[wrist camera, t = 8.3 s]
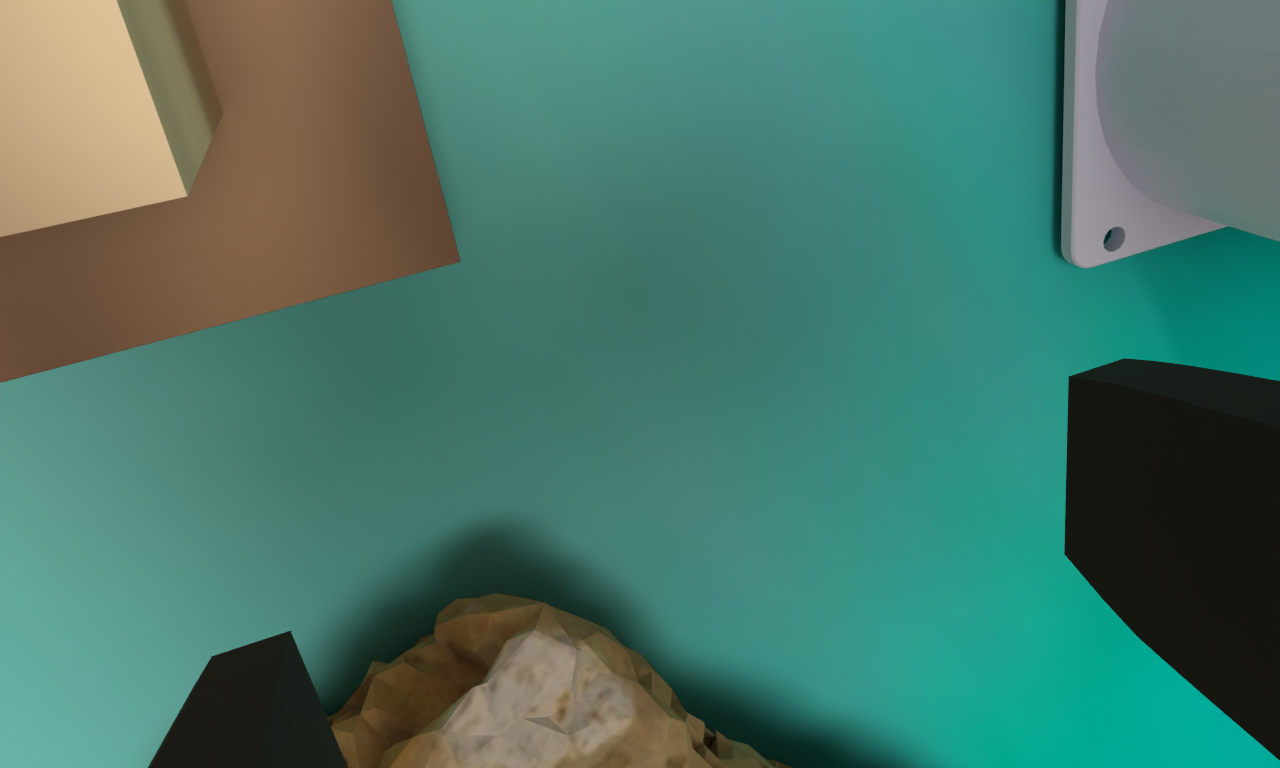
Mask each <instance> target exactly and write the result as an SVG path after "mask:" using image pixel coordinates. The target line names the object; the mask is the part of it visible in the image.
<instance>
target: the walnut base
mask: <svg viewBox="0 0 1280 768" xmlns="http://www.w3.org/2000/svg"><path fill="white" fill-rule="evenodd" d="M185 1H186V4H187V7H188V10H189V13H190V16H191V19H192V22H193V25H194V28H195V31H196V34H197V37H198V40H199V43H200V46H201V49H202V52H203V55H204V58H205V61H206V64H207V67H208V70H209V73H210V76H211V79H212V82H213V85H214V88H215V91H216V94H217V97H218V100H219V103H220V106H221V109H222V112H223V114H222V117H221V119H220V121H219V124H218V126H217V128H216V131H215V133H214V135H213V138H212V140H211V142H210V145H209V147H208V149H207V152H206V154H205V156H204V159H203V161H202V163H201V166H200V168H199V171H198V173H197V175H196V178H195V180H194V182H193V185H192V187H191V189H190V192H189V194H188V196H187V197H182V198H178V199H173V200H169V201H164V202H159V203H155V204H150V205H145V206H141V207H136V208H132V209H127V210H122V211H118V212H113V213H109V214H104V215H99V216H95V217H90V218H86V219H81V220H76V221H72V222H67V223H63V224H58V225H53V226H49V227H44V228H40V229H35V230H30V231H26V232H21V233H17V234H12V235H7V236H3V237H0V383H1V382H5V381H9V380H12V379H16V378H20V377H24V376H28V375H31V374H35V373H39V372H43V371H47V370H50V369H54V368H58V367H62V366H66V365H69V364H73V363H77V362H81V361H85V360H88V359H92V358H96V357H100V356H104V355H107V354H111V353H115V352H119V351H123V350H126V349H130V348H134V347H138V346H142V345H145V344H149V343H153V342H157V341H161V340H164V339H168V338H172V337H176V336H180V335H183V334H187V333H191V332H195V331H199V330H202V329H206V328H210V327H214V326H218V325H221V324H225V323H229V322H233V321H237V320H240V319H244V318H248V317H252V316H256V315H259V314H263V313H267V312H271V311H275V310H278V309H282V308H286V307H290V306H294V305H297V304H301V303H305V302H309V301H313V300H316V299H320V298H324V297H328V296H332V295H335V294H339V293H343V292H347V291H351V290H354V289H358V288H362V287H366V286H370V285H373V284H377V283H381V282H385V281H389V280H392V279H396V278H400V277H404V276H408V275H411V274H415V273H419V272H423V271H427V270H430V269H434V268H438V267H442V266H446V265H449V264H453V263H457V262H461V261H460V257H459V253H458V250H457V246H456V242H455V238H454V234H453V231H452V227H451V223H450V219H449V216H448V212H447V208H446V204H445V201H444V197H443V193H442V189H441V186H440V182H439V178H438V174H437V171H436V167H435V163H434V159H433V156H432V152H431V148H430V144H429V140H428V137H427V133H426V129H425V125H424V122H423V118H422V114H421V110H420V107H419V103H418V99H417V95H416V92H415V88H414V84H413V80H412V77H411V73H410V69H409V65H408V62H407V58H406V54H405V50H404V47H403V43H402V39H401V35H400V31H399V28H398V24H397V20H396V16H395V13H394V9H393V5H392V1H391V0H185Z"/></svg>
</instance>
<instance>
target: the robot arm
mask: <svg viewBox="0 0 1280 768" xmlns="http://www.w3.org/2000/svg"><path fill="white" fill-rule="evenodd" d="M1227 226H1230V227H1233V228H1236V229H1239V230H1243V231H1246V232H1249V233H1252V234H1256V235H1259V236H1262V237H1266V238H1269V239H1272V240H1275V241H1279V242H1280V0H1066V14H1065V66H1064V118H1063V171H1062V223H1061V250H1062V255H1063V257H1064V258H1065V260H1066V261H1067V262H1069V263H1072V264H1074V265H1076V266H1079V267H1081V268H1092V267H1095V266H1098V265H1102V264H1105V263H1108V262H1111V261H1115V260H1118V259H1121V258H1125V257H1128V256H1131V255H1135V254H1138V253H1141V252H1145V251H1148V250H1151V249H1154V248H1158V247H1161V246H1164V245H1168V244H1171V243H1174V242H1178V241H1181V240H1184V239H1187V238H1191V237H1194V236H1197V235H1201V234H1204V233H1207V232H1211V231H1214V230H1217V229H1220V228H1224V227H1227ZM1110 229H1111V230H1112V232H1111V236H1110V238H1109V240H1108V241H1107V242H1106V243H1105V244H1103V241H1104V238H1105V235H1106V234H1107V232H1108V231H1109V230H1110ZM1065 555H1066V556H1067V558H1068V559H1069V560H1070V561H1071V562H1072V563H1073V565H1074V566H1075V567H1076V568H1077V569H1078V570H1079V572H1080V573H1081V574H1082V575H1083V576H1084V578H1085V579H1086V580H1087V581H1088V582H1089V583H1090V585H1091V586H1092V587H1093V588H1094V589H1095V590H1096V592H1097V593H1098V594H1099V595H1100V596H1101V598H1102V599H1103V600H1104V601H1105V602H1106V603H1107V604H1108V605H1109V606H1110V607H1111V608H1112V610H1113V611H1114V612H1115V613H1116V614H1117V615H1118V616H1119V617H1120V618H1121V619H1122V620H1123V621H1124V623H1125V624H1126V625H1127V626H1128V627H1129V628H1130V629H1131V630H1132V631H1133V632H1134V633H1135V634H1136V636H1138V637H1139V638H1140V639H1141V640H1142V641H1143V642H1144V643H1145V644H1146V645H1148V646H1149V647H1150V648H1151V649H1152V650H1153V651H1154V652H1155V653H1156V654H1157V655H1159V656H1160V657H1161V658H1162V659H1163V660H1164V661H1165V662H1167V663H1168V664H1169V665H1170V666H1171V667H1172V668H1173V669H1175V670H1176V671H1177V672H1178V673H1179V674H1180V675H1181V676H1183V677H1184V678H1185V679H1186V680H1187V681H1188V682H1189V683H1190V684H1192V685H1193V686H1194V687H1195V688H1196V689H1197V690H1198V691H1200V692H1201V693H1202V694H1203V695H1204V696H1205V697H1206V698H1208V699H1209V700H1210V701H1211V702H1212V703H1213V704H1215V705H1216V706H1217V707H1218V708H1219V709H1220V710H1222V711H1223V712H1224V713H1225V714H1226V715H1227V716H1229V717H1230V718H1231V719H1232V720H1233V721H1234V722H1236V723H1237V724H1238V725H1239V726H1240V727H1241V728H1243V729H1244V730H1245V731H1246V732H1247V733H1248V734H1250V735H1251V736H1252V737H1253V738H1254V739H1255V740H1257V741H1258V742H1259V743H1260V744H1261V745H1262V746H1264V747H1265V748H1266V749H1267V750H1268V751H1269V752H1271V753H1272V754H1273V755H1274V756H1275V757H1276V758H1278V759H1279V760H1280V381H1275V380H1270V379H1264V378H1259V377H1253V376H1248V375H1242V374H1236V373H1231V372H1225V371H1219V370H1212V369H1206V368H1200V367H1194V366H1187V365H1180V364H1173V363H1165V362H1157V361H1147V360H1136V359H1121V360H1118V361H1115V362H1112V363H1109V364H1106V365H1103V366H1100V367H1097V368H1094V369H1091V370H1088V371H1085V372H1082V373H1079V374H1075V375H1072V376H1069V391H1068V432H1067V474H1066V515H1065ZM148 768H348V767H347V764H346V762H345V760H344V757H343V755H342V752H341V750H340V748H339V745H338V743H337V741H336V738H335V736H334V733H333V731H332V729H331V726H330V724H329V722H328V719H327V717H326V714H325V712H324V710H323V707H322V705H321V703H320V700H319V698H318V695H317V693H316V691H315V688H314V686H313V683H312V681H311V679H310V676H309V674H308V672H307V669H306V667H305V664H304V662H303V660H302V657H301V655H300V653H299V650H298V648H297V645H296V643H295V641H294V638H293V636H292V634H291V631H288V632H285V633H282V634H279V635H276V636H273V637H270V638H267V639H264V640H261V641H258V642H255V643H252V644H249V645H246V646H243V647H239V648H236V649H233V650H230V651H227V652H224V653H221V654H218V655H215V656H212V657H211V659H210V661H209V662H208V664H207V666H206V667H205V669H204V671H203V672H202V674H201V676H200V677H199V679H198V681H197V682H196V684H195V686H194V687H193V689H192V691H191V692H190V694H189V696H188V698H187V699H186V701H185V703H184V705H183V706H182V708H181V710H180V712H179V714H178V715H177V717H176V719H175V721H174V722H173V724H172V726H171V728H170V730H169V731H168V733H167V735H166V737H165V739H164V740H163V742H162V744H161V746H160V747H159V749H158V751H157V753H156V755H155V756H154V758H153V760H152V762H151V763H150V765H149V767H148Z"/></svg>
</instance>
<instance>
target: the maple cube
mask: <svg viewBox="0 0 1280 768" xmlns="http://www.w3.org/2000/svg"><path fill="white" fill-rule="evenodd" d="M222 114H223V112H222V109H221V106H220V103H219V100H218V97H217V94H216V91H215V88H214V85H213V82H212V79H211V76H210V73H209V70H208V67H207V64H206V61H205V58H204V55H203V52H202V49H201V46H200V43H199V40H198V37H197V34H196V31H195V28H194V25H193V22H192V19H191V16H190V13H189V10H188V7H187V4H186V1H185V0H0V237H3V236H7V235H12V234H17V233H21V232H26V231H30V230H35V229H40V228H44V227H49V226H53V225H58V224H63V223H67V222H72V221H76V220H81V219H86V218H90V217H95V216H99V215H104V214H109V213H113V212H118V211H122V210H127V209H132V208H136V207H141V206H145V205H150V204H155V203H159V202H164V201H169V200H173V199H178V198H182V197H187V196H188V194H189V192H190V189H191V187H192V185H193V182H194V180H195V178H196V175H197V173H198V171H199V168H200V166H201V163H202V161H203V159H204V156H205V154H206V152H207V149H208V147H209V145H210V142H211V140H212V138H213V135H214V133H215V131H216V128H217V126H218V124H219V121H220V119H221V117H222Z"/></svg>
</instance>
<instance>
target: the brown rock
mask: <svg viewBox="0 0 1280 768" xmlns="http://www.w3.org/2000/svg"><path fill="white" fill-rule="evenodd" d="M434 631H435V633H434V634H431V635H428V636H425V637H421V638H420V639H419V641H418V642H417V643H416V645H415V647H413V648H411V649H409V650H408V651H406V652H404V653H403V654H401V655H400V656H399V657H398V658H396V659H395V660H394V661H393V662H391V663H383V662H377V661H372V663H371V665H370V667H369V669H368V671H367V674H366V676H365V678H364V680H363V682H362V684H361V686H360V687H359V688H358V689H357V690H356V692H355V693H354V694H353V695H352V696H351V698H350V699H349V700H348V701H347V702H346V704H345V705H344V706H343V707H342V708H341V710H340V711H339V712H338V713H336V714H334V715H332V716H329V717H327V719H328V722H329V724H330V726H331V729H332V731H333V733H334V736H335V738H336V741H337V743H338V745H339V748H340V750H341V752H342V755H343V757H344V760H345V762H346V764H347V767H348V768H792V767H789V766H787V765H785V764H782V763H780V762H778V761H774V760H770V759H766V758H763V757H762V756H761V755H760V754H758V753H757V752H756V751H755V750H754V749H753V748H752V747H751V746H750V745H748V744H744V743H741V742H737V741H733V740H730V739H726V738H725V737H724V736H723V735H722V734H721V733H720V732H718V731H717V730H716V735H715V734H713V733H712V732H711V731H710V730H708V729H707V728H706V727H705V726H704V725H705V722H703V721H701V720H699V719H698V718H696V717H694V716H692V715H691V714H689V713H687V712H686V711H685V710H684V708H683V706H682V705H681V703H680V701H679V700H678V698H677V696H676V695H675V693H674V691H673V690H672V688H671V687H670V686H669V685H668V684H667V683H666V682H665V681H664V680H663V679H662V678H661V677H660V675H659V674H658V673H657V672H656V671H655V670H654V669H653V667H652V666H651V665H650V664H649V663H648V662H647V661H646V660H645V658H644V657H643V656H642V655H641V654H640V653H638V652H636V651H634V650H632V649H630V648H628V647H626V646H624V645H622V644H621V643H620V642H619V641H618V640H617V639H616V638H615V637H614V636H613V634H612V633H611V632H610V631H609V630H608V629H607V628H605V627H602V626H600V625H597V624H595V623H593V622H590V621H588V620H585V619H583V618H581V617H578V616H576V615H573V614H571V613H568V612H565V611H563V610H560V609H557V608H555V607H552V606H550V605H548V604H547V603H544V602H539V601H536V600H533V599H527V598H522V597H516V596H511V595H505V594H500V593H494V594H489V595H485V596H481V597H477V598H462V599H455V600H454V601H453V602H452V603H451V604H449V605H448V606H447V607H446V608H444V609H443V610H442V611H441V612H440V613H438V616H437V619H436V623H435V626H434Z"/></svg>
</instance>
